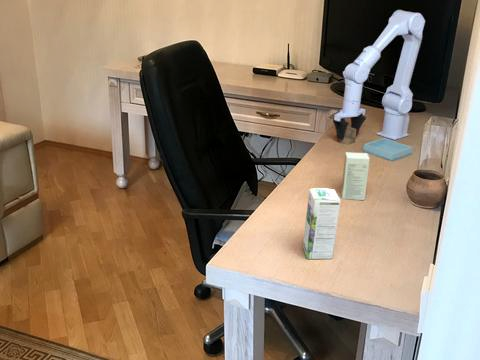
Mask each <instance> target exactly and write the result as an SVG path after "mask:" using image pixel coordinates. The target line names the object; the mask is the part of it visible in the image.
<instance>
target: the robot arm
mask: <svg viewBox="0 0 480 360" xmlns="http://www.w3.org/2000/svg"><path fill="white" fill-rule="evenodd" d="M425 23H426V20H425V18H424V16H423V15H422V13H420V12H412V11H405V10H402V9H397V10H395V11H394V12H393V13H392V15H391V16H390V17H389V19H388V24H387V25H386V27H384V29H383V31H382V32H381V34H380V35H379V36H378V38H377V39H376V40H375V41H374V43H373V44H372V45H368V46H367V47H364V48H363V50H362V52H361V53H360V54H359V55H358V56H357V58H356V59H355V60H353V62H352V63H349V64H348V65H347V66H346V67H345V69H344V71H342V75H343V78H344V84H345V86H344V93H343V101H342V108H341V109H340V110H339V112H337V113H336V114H334V118H332V122H333V124H334V126H335V130H336V138H337V140H339V139H340V140H343V139H344V135H345V131H346V128H347V126H348V125H349V124H350V123H351V125H350V127H351V128H354V129H357V130H356V137H357V136H358V134H359V131H360V129H361V127H362V125H363V123H364V122H365V121H366V119H367V116H365V114H366V109H365V108H362V107H361V101H362V100H361V99H362V93H363V86H364V82H366V81H367V80H368V78H369V73H370V72H371V69H372V68H373V67H374V66H375V64H376V63H377V62H378V61H379V60H380V58H381V52H382V51H383V50H384V49H385V48H386V47H387V46H388V45H389V44H390V43H391V42H392V41H393V40H394V39H395V38H396V37H397V36H401V37H402V38H403V39H404V41H403V44H402V45H403V46H402V49H401V52H400V57H399V60H398V63H397V68H396V72H395V76H394V80H393V84H391V85H390V86H388V87H387V88H386V92H385V93H384V95H383V96H382V100H381V104H382V106H383V108H384V109H383V110H384V111H385V112H384V117H383V122H382V123H383V124H382V131H379V132H377V133H376V134H377V135H378V136H380V137H383V138H386V139H389V140H392V141H396V140H398V139H402V138H405V137H408V136H410V134H409V133H408V130H409V129H408V128H409V123H410V114H409V112H410V111H411V110H412V106H413V96H414V94H413V92H412V90H411V89H410V84H411V79H412V76H413V74H414V73H413V72H414V69H415V67H416V66H415V65H416V62H417V58H418V54H419V51H420V48H421V44H422V40H423V31H424V27H425ZM346 119H350V122H348V121H346ZM348 127H349V126H348Z"/></svg>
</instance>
